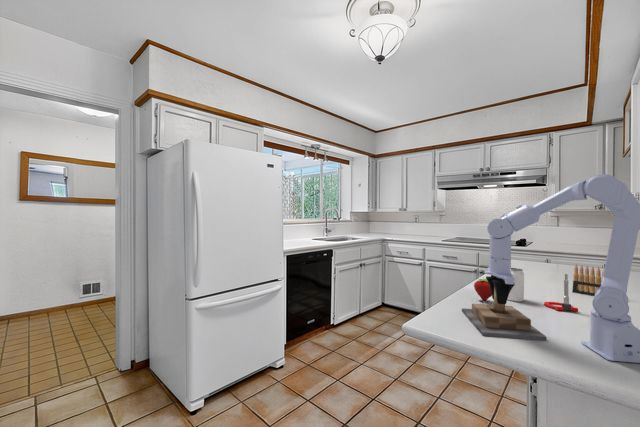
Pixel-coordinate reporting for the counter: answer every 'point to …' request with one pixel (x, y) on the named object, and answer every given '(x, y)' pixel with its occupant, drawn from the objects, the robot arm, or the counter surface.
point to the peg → (498, 306)
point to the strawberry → (483, 289)
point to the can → (517, 286)
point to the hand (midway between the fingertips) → (499, 301)
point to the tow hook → (565, 305)
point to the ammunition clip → (586, 281)
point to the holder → (502, 322)
